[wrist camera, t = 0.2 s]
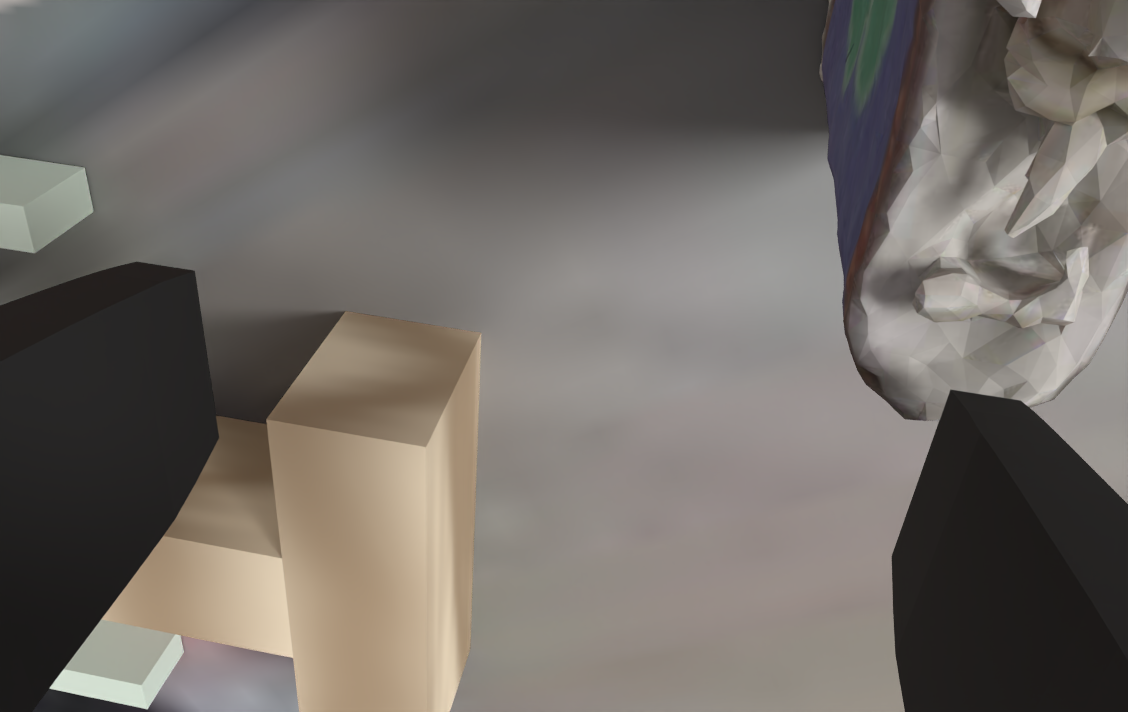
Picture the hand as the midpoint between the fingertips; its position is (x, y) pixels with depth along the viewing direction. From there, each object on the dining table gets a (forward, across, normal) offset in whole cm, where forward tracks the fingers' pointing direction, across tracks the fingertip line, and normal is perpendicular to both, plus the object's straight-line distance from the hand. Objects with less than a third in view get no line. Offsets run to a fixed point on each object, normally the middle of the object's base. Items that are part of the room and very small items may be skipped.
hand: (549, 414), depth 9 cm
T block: (+10, +6, +10) cm, 16 cm away
